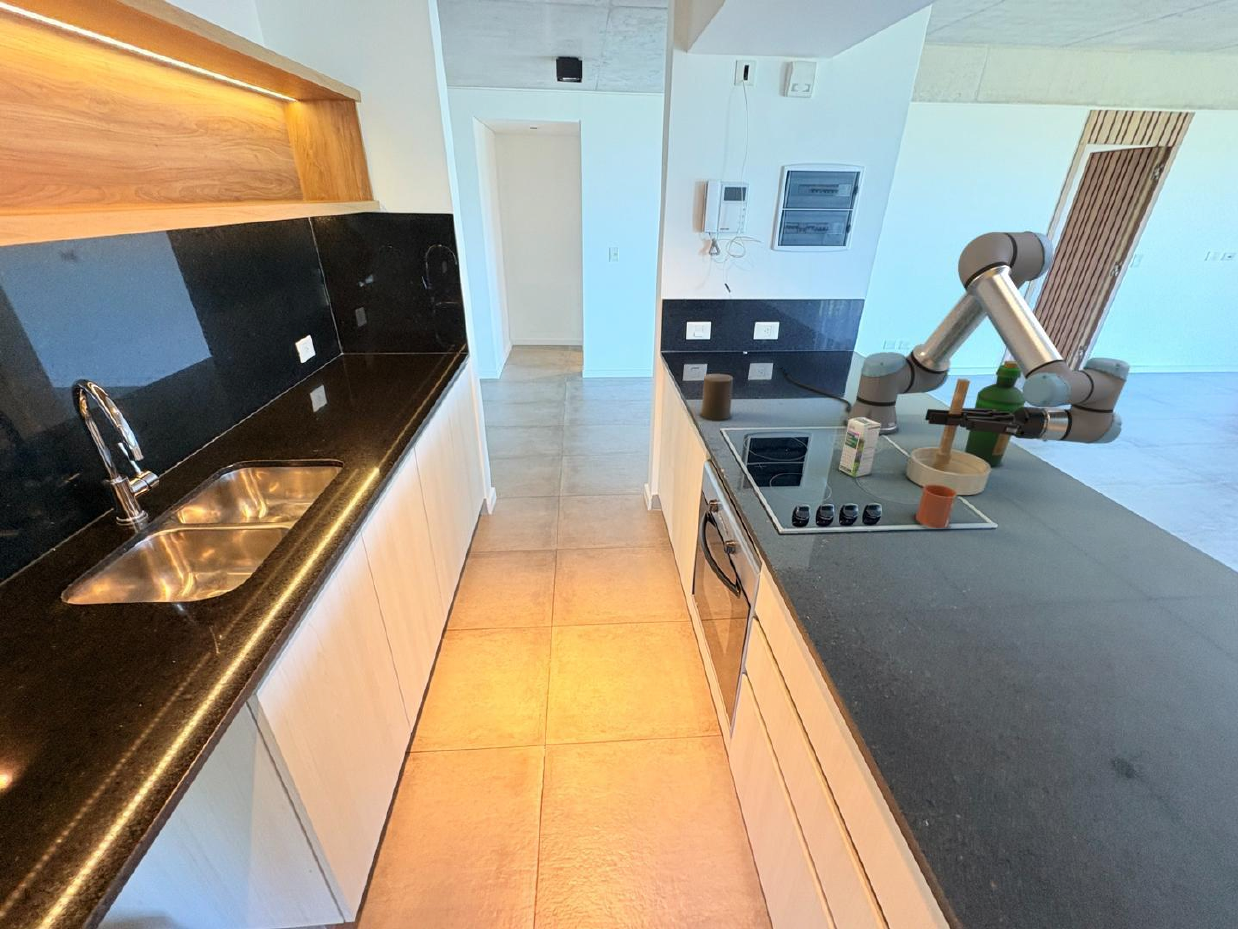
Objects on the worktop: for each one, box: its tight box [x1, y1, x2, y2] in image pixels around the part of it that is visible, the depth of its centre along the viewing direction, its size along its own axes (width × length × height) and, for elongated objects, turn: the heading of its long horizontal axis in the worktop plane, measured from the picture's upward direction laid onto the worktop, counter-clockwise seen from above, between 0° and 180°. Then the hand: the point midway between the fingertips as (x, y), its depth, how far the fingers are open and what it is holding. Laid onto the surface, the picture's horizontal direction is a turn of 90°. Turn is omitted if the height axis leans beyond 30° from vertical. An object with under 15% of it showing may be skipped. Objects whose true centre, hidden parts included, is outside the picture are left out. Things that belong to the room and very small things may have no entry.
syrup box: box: [838, 417, 881, 478], centre depth 138 cm, size 6×6×14 cm
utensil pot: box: [915, 484, 958, 529], centre depth 116 cm, size 6×6×8 cm
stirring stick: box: [932, 378, 971, 472], centre depth 129 cm, size 3×2×24 cm, turn 77°
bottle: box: [964, 360, 1026, 467], centre depth 142 cm, size 11×11×28 cm
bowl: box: [905, 446, 992, 496], centre depth 135 cm, size 18×18×6 cm
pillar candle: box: [700, 373, 734, 422], centre depth 179 cm, size 10×10×15 cm
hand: (928, 416), depth 129 cm, fingers closed on stirring stick, 2 cm apart
